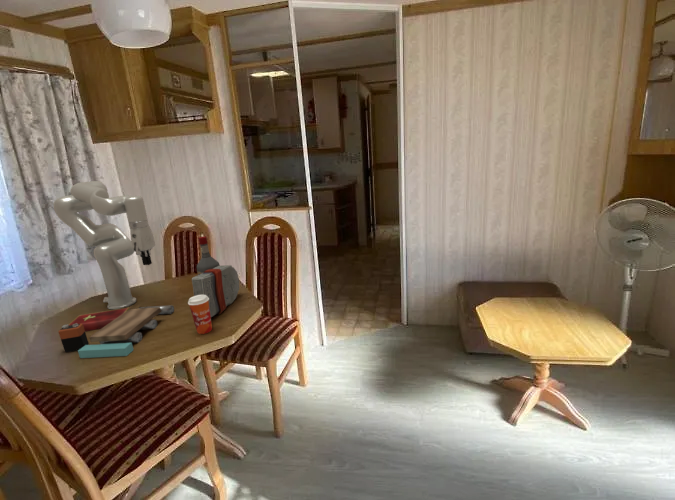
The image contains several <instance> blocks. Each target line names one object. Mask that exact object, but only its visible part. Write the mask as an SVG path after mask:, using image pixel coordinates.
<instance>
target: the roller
mask: <svg viewBox="0 0 675 500" xmlns="http://www.w3.org/2000/svg"><path fill="white" fill-rule="evenodd" d="M142 339H143V333H142V332H141V331H137V332H136V333H134V334H133V335H132V336H131V337H129V338H128V339H127V340H118V341H99V343H100V344H115V343H132V344H133V343H140V342H141V341H142Z"/></svg>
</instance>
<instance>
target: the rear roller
mask: <svg viewBox="0 0 675 500" xmlns="http://www.w3.org/2000/svg"><path fill="white" fill-rule="evenodd" d="M157 307H160V309H161V312H160V313H159V314H158V315H172V314H173V313H174V312H175V307H174V305H173V304H171V305H170V304H169V305H154V306H140V307H138V308H137V309H141V308H157Z"/></svg>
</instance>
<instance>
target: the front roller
mask: <svg viewBox="0 0 675 500" xmlns="http://www.w3.org/2000/svg"><path fill="white" fill-rule="evenodd" d="M157 326H158V321H157V320H156V319H154V318H153V319H152V320H150V321H149V322H148V323H147V324H145V325H144V326H143V327H142V328H140V329H139V330H138V331H140V330H156V328H157Z"/></svg>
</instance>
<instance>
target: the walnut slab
mask: <svg viewBox="0 0 675 500" xmlns="http://www.w3.org/2000/svg"><path fill="white" fill-rule="evenodd" d="M160 312H161V309H160V307H157V308H141V309H138V308H129V310H128V311H126V312H125V313H123V314H122V315H120V316H119V317H117V318H116V319H115V320H113V321H112V322H110V323H109V324H107V325H106V326H104V327H103V328H102V329H98V330H96V332H95V333H93V334H92V335H90V336H89V341H90V342H91V343H97V342H99V341H118V340H127V339H128V338H129V337H131V336H132V335H133V334H134V333H136V332H139V331H140V330H139V329H140V328H142V327H143V326H144V325H145V324H147V323H148V322H149V321H150V320H154V318H156V317H157V315H158V314H159V313H160ZM99 343H100V342H99Z"/></svg>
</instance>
